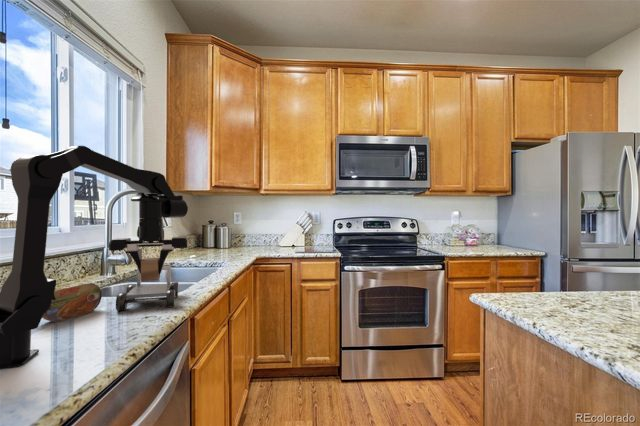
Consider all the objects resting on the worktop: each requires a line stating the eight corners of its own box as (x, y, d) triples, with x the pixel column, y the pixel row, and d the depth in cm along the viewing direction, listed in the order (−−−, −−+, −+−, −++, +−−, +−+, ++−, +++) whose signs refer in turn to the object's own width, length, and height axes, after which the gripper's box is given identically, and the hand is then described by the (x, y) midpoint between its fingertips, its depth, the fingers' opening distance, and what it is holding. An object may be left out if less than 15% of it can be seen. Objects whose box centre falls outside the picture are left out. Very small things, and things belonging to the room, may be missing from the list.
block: (157, 280, 83) (157, 260, 83) (140, 281, 82) (140, 260, 82) (160, 276, 88) (160, 257, 88) (144, 277, 86) (144, 258, 86)
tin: (43, 326, 76) (45, 292, 76) (35, 324, 77) (36, 291, 77) (102, 309, 91) (103, 281, 91) (94, 308, 92) (95, 280, 92)
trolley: (173, 308, 92) (174, 273, 92) (115, 313, 87) (116, 275, 87) (178, 294, 108) (179, 265, 108) (129, 298, 103) (130, 266, 103)
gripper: (189, 217, 95) (189, 267, 95) (119, 217, 89) (119, 271, 89) (187, 218, 85) (186, 274, 85) (108, 218, 78) (108, 279, 78)
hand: (151, 274), depth 85 cm, fingers closed on block, 4 cm apart
